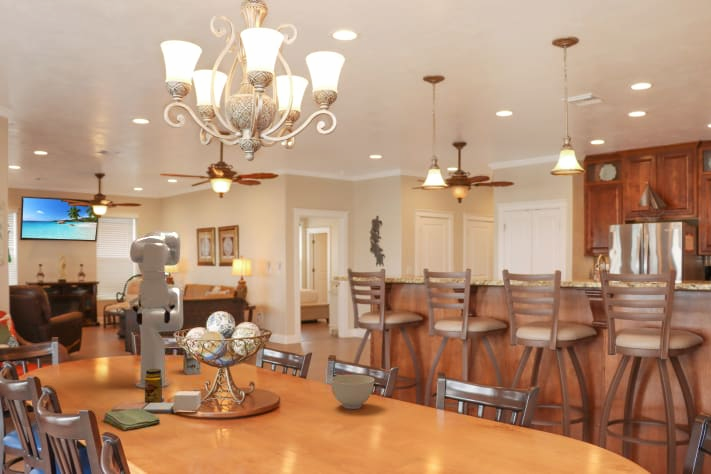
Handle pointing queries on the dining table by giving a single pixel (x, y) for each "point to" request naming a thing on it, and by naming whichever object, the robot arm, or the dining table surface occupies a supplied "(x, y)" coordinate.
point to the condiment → (153, 386)
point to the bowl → (352, 389)
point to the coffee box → (190, 365)
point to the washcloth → (131, 418)
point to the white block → (187, 400)
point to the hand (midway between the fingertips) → (153, 323)
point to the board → (146, 407)
